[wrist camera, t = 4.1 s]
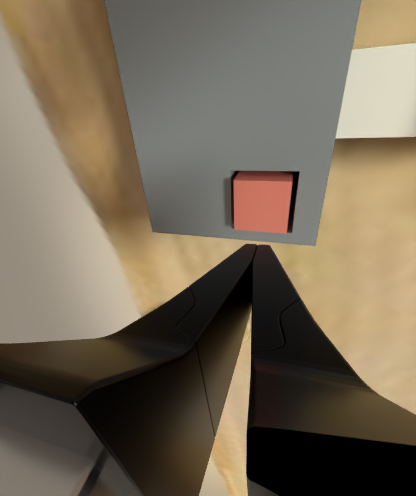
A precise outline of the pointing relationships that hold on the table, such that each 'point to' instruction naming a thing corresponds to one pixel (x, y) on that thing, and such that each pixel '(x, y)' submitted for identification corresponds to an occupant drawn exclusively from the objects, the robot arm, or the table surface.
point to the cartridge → (380, 93)
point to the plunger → (262, 200)
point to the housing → (232, 103)
